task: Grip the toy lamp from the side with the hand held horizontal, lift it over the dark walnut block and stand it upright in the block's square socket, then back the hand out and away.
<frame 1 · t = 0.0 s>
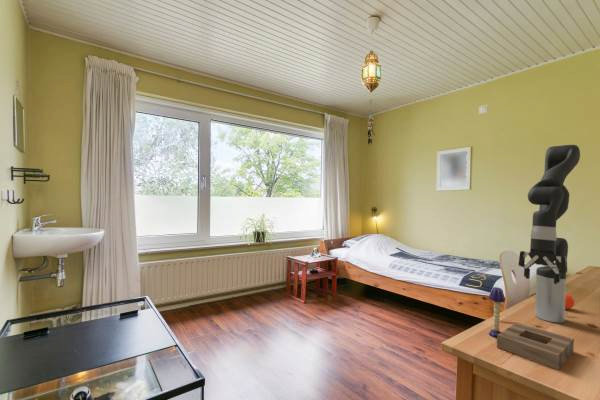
hand: (541, 281, 112), 17 cm above the table, tool pointing down, fingers open, 8 cm apart
socket block: (534, 349, 93), on the table
toy lamp: (495, 336, 102), on the table
clementine: (563, 308, 133), on the table
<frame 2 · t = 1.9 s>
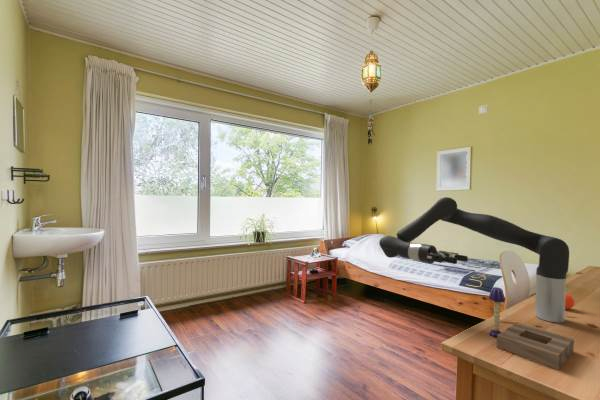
hand: (462, 260, 112), 24 cm above the table, tool horizontal, fingers open, 8 cm apart
nothing on the table moved.
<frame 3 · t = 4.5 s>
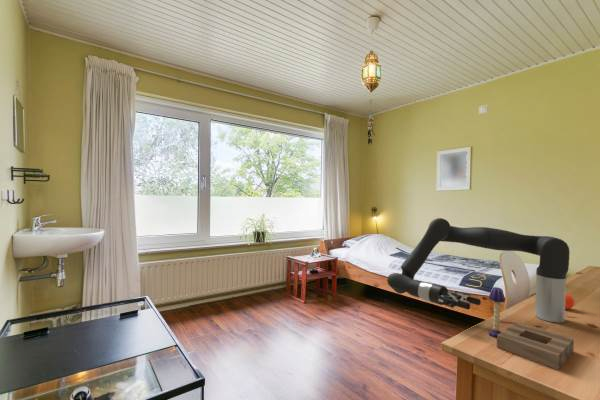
hand: (475, 304, 108), 9 cm above the table, tool horizontal, fingers open, 8 cm apart
nothing on the table moved.
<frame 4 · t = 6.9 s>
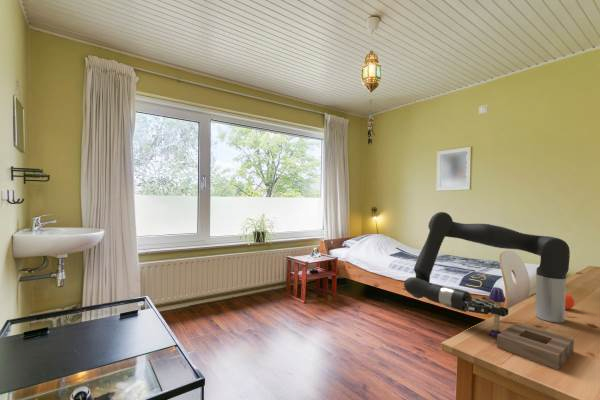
hand: (506, 312, 100), 9 cm above the table, tool horizontal, fingers closed on toy lamp
toy lamp: (495, 336, 102), on the table, touching gripper
everything else where it was.
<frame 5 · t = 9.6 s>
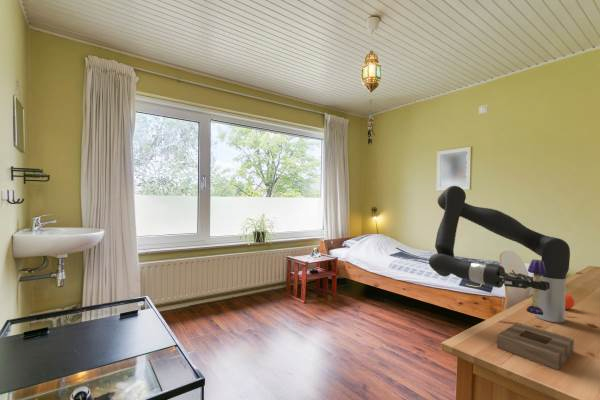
hand: (548, 286, 91), 21 cm above the table, tool horizontal, fingers closed on toy lamp
toy lamp: (534, 313, 93), point 12 cm above the table, touching gripper
everything else where it was.
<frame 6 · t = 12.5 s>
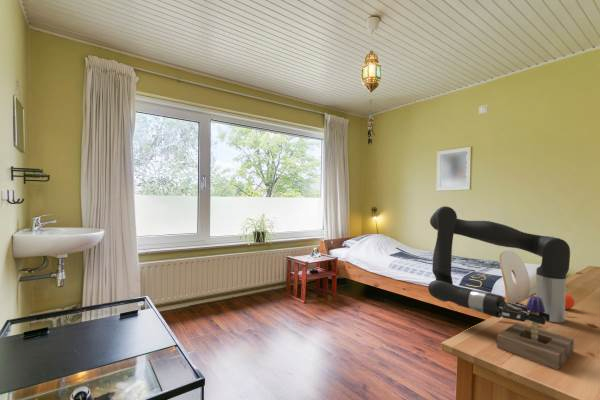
hand: (547, 319, 91), 10 cm above the table, tool horizontal, fingers open, 4 cm apart
toy lamp: (533, 350, 93), resting in socket block
everything else where it was.
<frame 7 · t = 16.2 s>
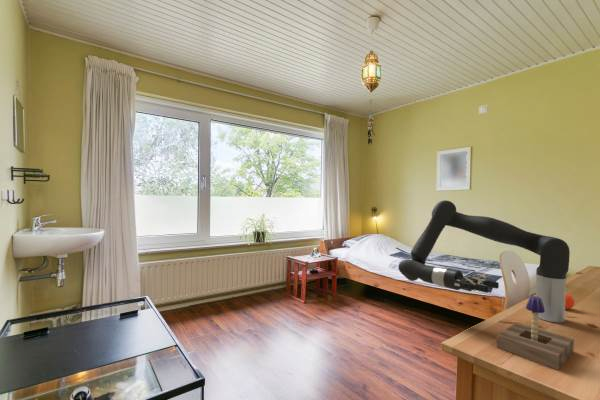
hand: (493, 287, 103), 17 cm above the table, tool horizontal, fingers open, 8 cm apart
nothing on the table moved.
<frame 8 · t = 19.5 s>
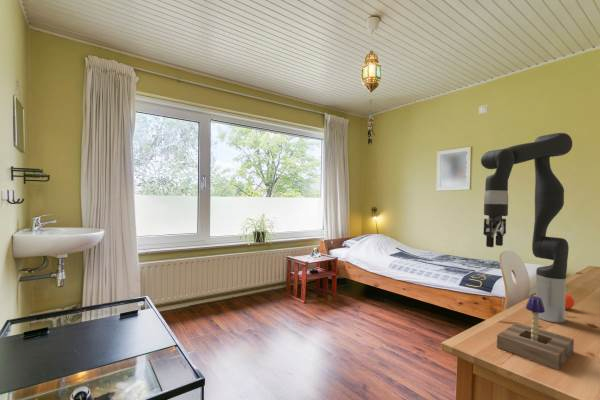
hand: (494, 246, 110), 30 cm above the table, tool pointing down, fingers open, 8 cm apart
nothing on the table moved.
at the end: toy lamp 0.6 cm off-centre on the socket block, point 0.0 cm above the socket block's base; toy lamp tilted 0°; the gripper is holding nothing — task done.
